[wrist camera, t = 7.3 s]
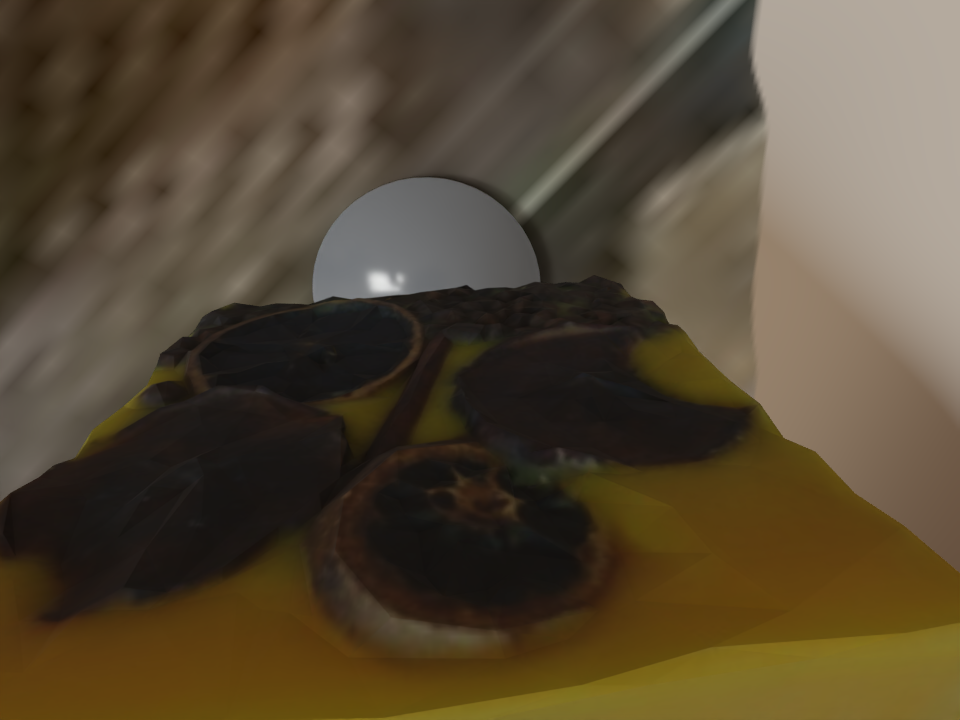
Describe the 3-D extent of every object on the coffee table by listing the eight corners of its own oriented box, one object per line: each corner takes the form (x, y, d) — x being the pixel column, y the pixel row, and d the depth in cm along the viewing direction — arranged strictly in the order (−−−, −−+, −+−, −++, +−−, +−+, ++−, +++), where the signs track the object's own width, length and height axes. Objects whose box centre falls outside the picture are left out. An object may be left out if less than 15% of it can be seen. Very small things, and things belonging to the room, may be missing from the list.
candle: (606, 568, 17) (809, 1062, 8) (293, 608, 17) (143, 1195, 8) (625, 264, 13) (1099, 615, 4) (200, 301, 12) (-413, 832, 3)
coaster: (323, 391, 30) (322, 397, 30) (304, 171, 25) (301, 173, 25) (528, 390, 32) (530, 395, 31) (549, 181, 27) (551, 182, 26)
